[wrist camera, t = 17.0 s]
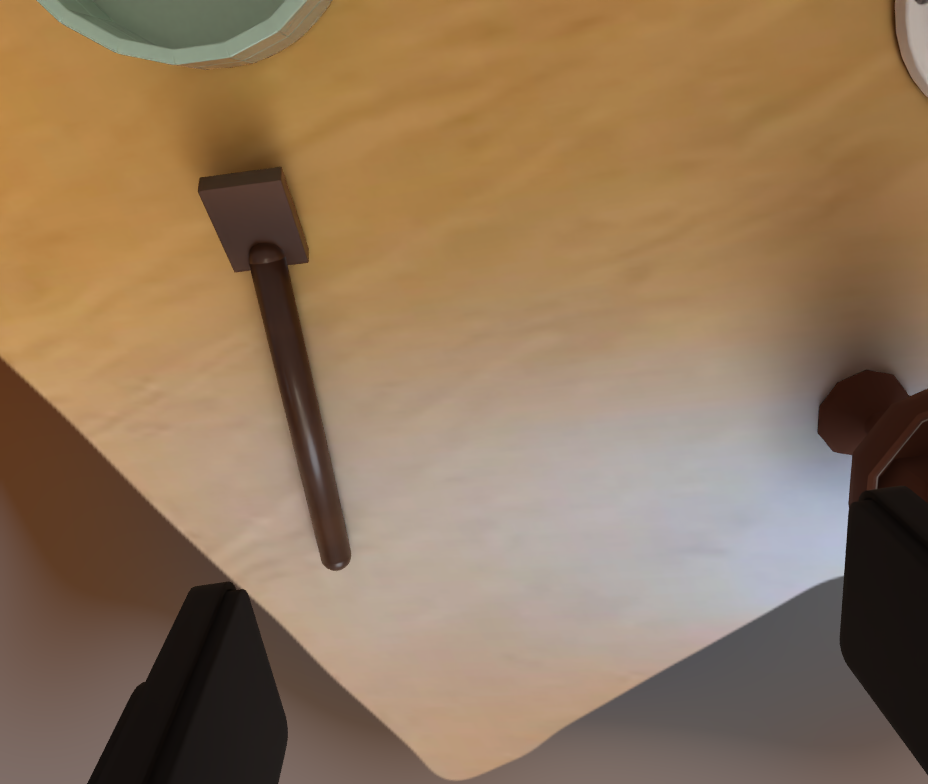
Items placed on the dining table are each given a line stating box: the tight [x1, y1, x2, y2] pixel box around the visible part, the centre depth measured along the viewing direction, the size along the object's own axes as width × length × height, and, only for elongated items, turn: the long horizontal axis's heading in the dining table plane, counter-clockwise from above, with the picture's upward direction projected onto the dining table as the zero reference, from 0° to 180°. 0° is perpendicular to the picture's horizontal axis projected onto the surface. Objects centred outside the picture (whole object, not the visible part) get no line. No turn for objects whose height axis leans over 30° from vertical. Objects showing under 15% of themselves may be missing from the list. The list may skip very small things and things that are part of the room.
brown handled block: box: [198, 167, 351, 571], centre depth 39 cm, size 21×4×11 cm
